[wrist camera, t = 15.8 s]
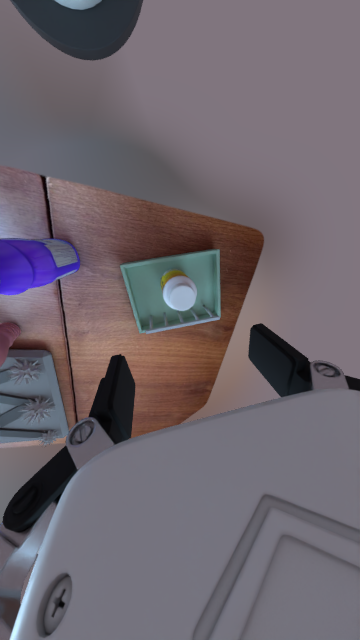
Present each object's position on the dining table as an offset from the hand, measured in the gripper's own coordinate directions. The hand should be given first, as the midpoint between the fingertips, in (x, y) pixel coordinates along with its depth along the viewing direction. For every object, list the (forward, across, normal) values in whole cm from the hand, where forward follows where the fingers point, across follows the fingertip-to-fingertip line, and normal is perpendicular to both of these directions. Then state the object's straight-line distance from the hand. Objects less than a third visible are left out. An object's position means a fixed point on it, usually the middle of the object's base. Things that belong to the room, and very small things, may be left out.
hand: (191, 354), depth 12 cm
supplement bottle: (+23, -2, +1) cm, 23 cm away
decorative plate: (+24, +41, +21) cm, 52 cm away
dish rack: (+24, -2, +3) cm, 24 cm away
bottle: (+24, +17, -7) cm, 30 cm away
